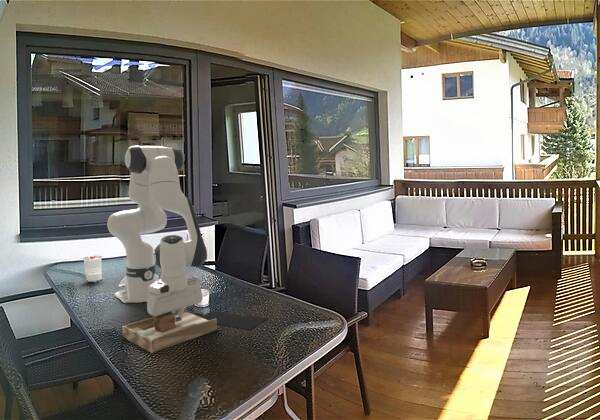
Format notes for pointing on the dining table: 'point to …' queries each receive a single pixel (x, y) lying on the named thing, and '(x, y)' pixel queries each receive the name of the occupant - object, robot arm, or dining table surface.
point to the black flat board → (233, 320)
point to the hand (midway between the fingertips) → (177, 321)
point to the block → (164, 322)
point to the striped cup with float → (93, 268)
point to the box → (156, 340)
